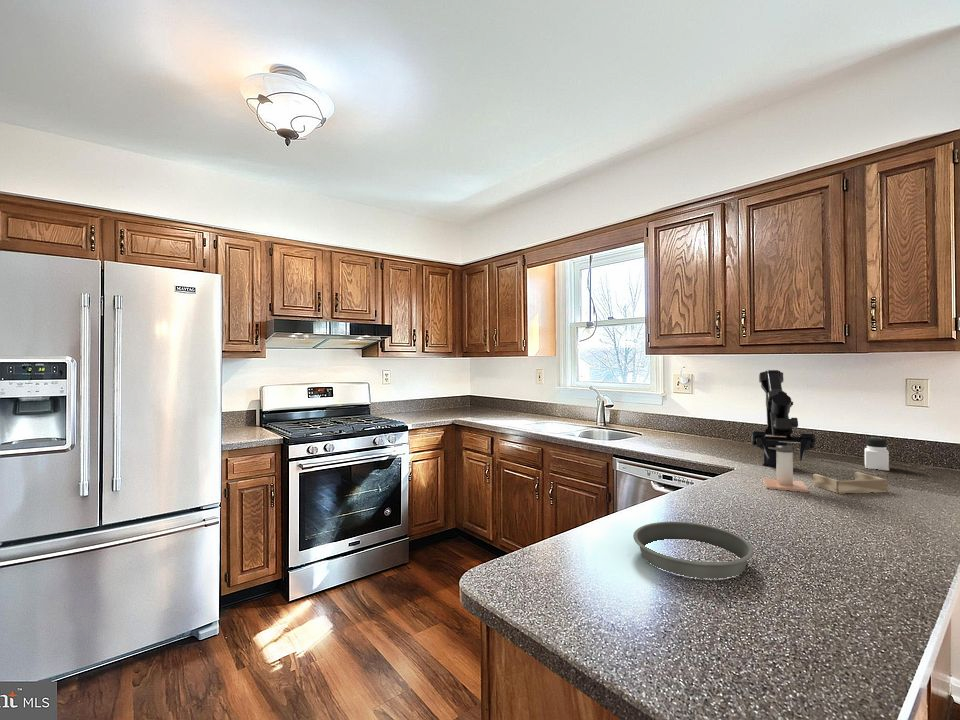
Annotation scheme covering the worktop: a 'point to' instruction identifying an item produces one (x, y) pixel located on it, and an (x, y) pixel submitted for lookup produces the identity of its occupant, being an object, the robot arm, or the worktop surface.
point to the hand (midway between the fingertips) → (784, 459)
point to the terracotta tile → (795, 487)
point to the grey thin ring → (699, 534)
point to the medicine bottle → (877, 454)
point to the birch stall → (852, 484)
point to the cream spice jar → (784, 465)
